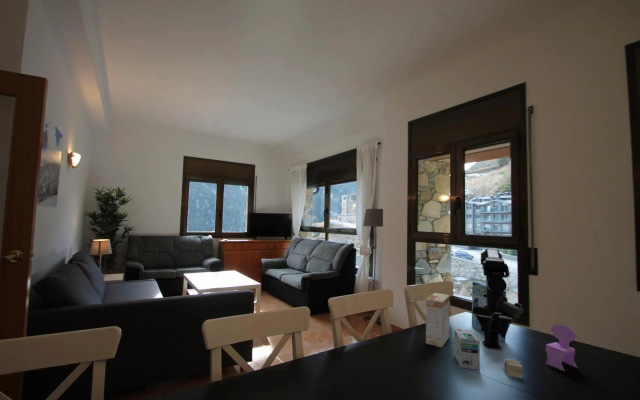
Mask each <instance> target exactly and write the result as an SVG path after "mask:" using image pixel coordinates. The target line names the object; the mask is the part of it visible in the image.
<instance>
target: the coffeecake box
mask: <svg viewBox="0 0 640 400" xmlns="http://www.w3.org/2000/svg"><path fill="white" fill-rule="evenodd" d="M425 304H426V306H425V310H426V311H425V314H426V315H425V317H426V318H425V344H426V345H430V346H434V347H438V348H443V346H444V345H445V343H447V340H449V338H450V294H444V293H440V292H434V293H432V294H431V295H429V297H427V298H426V299H425Z"/></svg>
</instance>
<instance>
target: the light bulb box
mask: <svg viewBox="0 0 640 400" xmlns="http://www.w3.org/2000/svg"><path fill="white" fill-rule="evenodd" d="M453 333H454V334H453V335H454V357H455V359H456V361H457V363H458V364H459V367H460V368H463V369H470V370H476V371H477V370H478V371H480V369H481V368H480V367H481V361H480V360H481V356H480V351H481V349H480V348H481V347H480V346H481V344H480V343H481V341H480V339H479V338H478V337H477V336H476V335H475V334H474V332H473V331H472V330H471V329H461V328H454V332H453Z"/></svg>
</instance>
